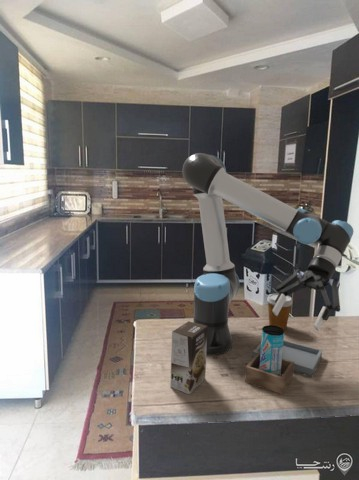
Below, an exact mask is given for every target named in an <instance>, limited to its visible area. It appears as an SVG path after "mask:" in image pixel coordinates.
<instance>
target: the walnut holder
mask: <svg viewBox="0 0 359 480" xmlns="http://www.w3.org/2000/svg"><path fill="white" fill-rule="evenodd" d="M260 354H261V352H258V353H257V354H256V356H255V357H254V358H253V357H252V359H251V360H250V361H249V362H248V364H246V365H245V373H244V382H245V383H248V384H251V385H253V386H256V387H259V388H263V389H266V390H269V391H272V392H274V393H277V394H278V395H279V394H280V395H283V394H284V393H285V391H286V389H287V388H288V385H289V384H290V382H291V380H292V379H293V377H294V373H295V372H294V362H293V361H289V360H286V359H283V358H282V364H281V375H282V376H281V375H280V376H278V375H275V374H272V373H269V372H265V371H262V370H259V368H260Z"/></svg>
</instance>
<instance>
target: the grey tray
mask: <svg viewBox="0 0 359 480" xmlns="http://www.w3.org/2000/svg"><path fill="white" fill-rule="evenodd" d="M258 352H261V343H260V344H258V346H256V348H255V349H254V350H253V353H252V359H253V358H254V357H255V356H256V354H257V353H258ZM282 358H283V359H286V360H289V361H293V362H294V372H293V373H297V374H301V375H304V376H307V377H309V378H312V377H313V376H314V374H315V372H316V370H317V368H318V366H319V364H320V362H321V360H322V358H323V350H322V349H319V348H315V347H314V346H313V347H312V346H310V345H309V346H308V345H306V344H305V345H304V344H301V343H298V342H292V341H289V340H287V339H284V340H283V353H282Z"/></svg>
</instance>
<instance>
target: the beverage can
mask: <svg viewBox="0 0 359 480" xmlns="http://www.w3.org/2000/svg"><path fill="white" fill-rule="evenodd" d="M261 329H262V331H261V342H260V344H261V354H260V367H259V370H262V371H265V372H269V373H272V374H275V375H278V376H281V375H282V374H281V364H282V353H283V340H285V339H284V338H285V330H283V329H282V328H280V327H278V326H273V325H269V324H268V325H265V326H263V327H262V328H261Z"/></svg>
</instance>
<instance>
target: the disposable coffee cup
mask: <svg viewBox="0 0 359 480" xmlns="http://www.w3.org/2000/svg"><path fill="white" fill-rule="evenodd" d="M278 295H279V294H278V293H271V294H268V297H267V298H266V301H267V308H268V309H267V310H268V325H273V326H278V327H280V328H282V329H283V330H284V329H285V330H286V329H287V325H288V322H289V316H290V311H291V308H292V304H293V303H294V302H293V299H292V297H291V296H290V295H287V296H285V297H286V298H287V299H286V301H285V303H284V304H283V306H282V308H281V310H280V312H279V314H278V315H277V316H276V315H275V314H274V313H273V311H272V310H273V308H274V306H275V305H276V302H275V300H276V298H277V296H278ZM285 330H284V331H285Z"/></svg>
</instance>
